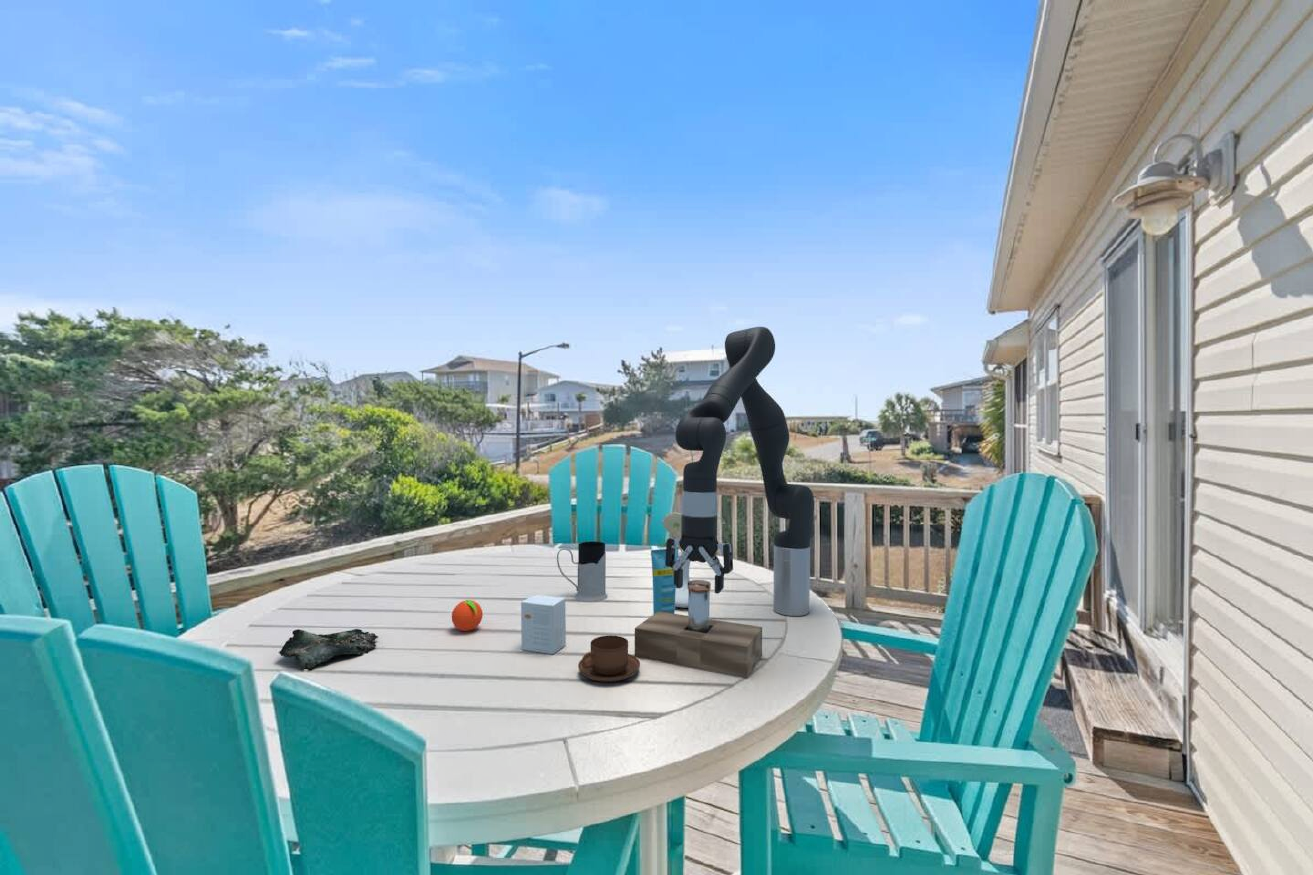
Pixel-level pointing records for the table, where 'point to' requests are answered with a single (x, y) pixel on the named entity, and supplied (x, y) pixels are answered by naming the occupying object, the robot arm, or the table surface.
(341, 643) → the decorative rock
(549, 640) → the small box
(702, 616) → the plug
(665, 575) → the tube
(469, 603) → the clementine
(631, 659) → the cup and saucer
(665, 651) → the block
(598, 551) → the glass holder
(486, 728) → the table surface
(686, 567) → the flower in vase
